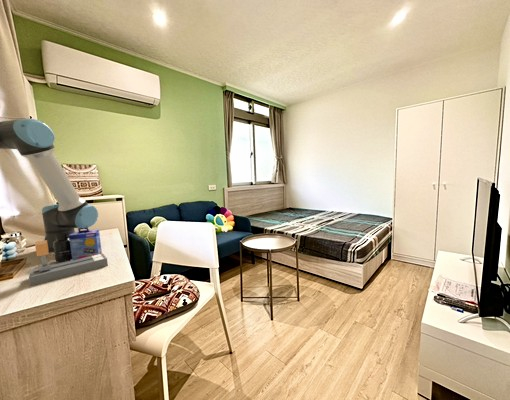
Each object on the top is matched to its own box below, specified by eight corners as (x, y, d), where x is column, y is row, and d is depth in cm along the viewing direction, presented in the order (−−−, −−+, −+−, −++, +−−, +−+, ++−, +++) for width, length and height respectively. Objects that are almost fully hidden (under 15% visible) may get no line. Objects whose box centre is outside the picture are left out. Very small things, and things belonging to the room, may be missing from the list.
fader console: (30, 286, 73) (28, 277, 72) (31, 277, 79) (30, 269, 79) (107, 265, 88) (106, 258, 88) (103, 260, 94) (102, 253, 94)
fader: (39, 272, 75) (35, 245, 74) (39, 267, 79) (35, 241, 78) (51, 269, 77) (47, 243, 76) (50, 265, 82) (47, 240, 80)
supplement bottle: (63, 263, 92) (60, 235, 91) (51, 262, 94) (47, 235, 93) (79, 257, 99) (76, 231, 98) (67, 256, 101) (64, 231, 99)
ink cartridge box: (71, 263, 92) (67, 229, 91) (76, 258, 98) (72, 227, 96) (99, 258, 96) (95, 226, 95) (102, 254, 101) (98, 224, 100)
